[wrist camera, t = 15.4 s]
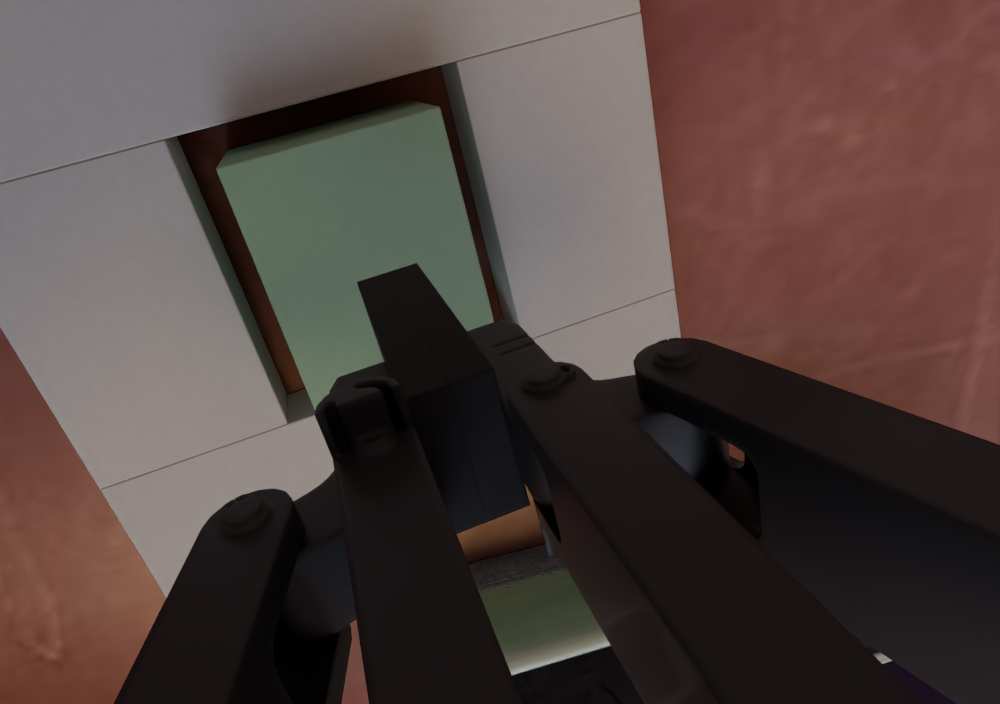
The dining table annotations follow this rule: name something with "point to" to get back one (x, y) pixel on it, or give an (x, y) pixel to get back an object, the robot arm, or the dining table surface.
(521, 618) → the planter
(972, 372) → the dining table surface
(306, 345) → the green block
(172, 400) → the base pad
